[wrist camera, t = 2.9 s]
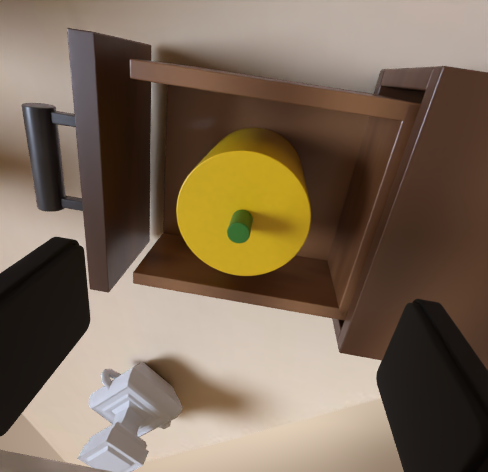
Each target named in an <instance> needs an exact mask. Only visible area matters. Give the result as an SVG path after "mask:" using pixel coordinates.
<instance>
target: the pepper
mask: <svg viewBox="0 0 488 472" xmlns="http://www.w3.org/2000/svg"><path fill="white" fill-rule="evenodd" d="M176 212H177V221H178V226H179V229H180V232H181V234H182V237H183V239H184V240H185V242H186V244H187V245H188V247H189V248H190V249H191V251H192V252H193V253H194V254H195V255H196V256H197V257H198V258H199V259H201V260H202V261H203V262H204V263H206V264H208V265H209V266H211V267H213V268H215V269H217V270H219V271H222V272H225V273H228V274H232V275H239V276H254V275H260V274H265V273H268V272H271V271H274V270H276V269H278V268H280V267H282V266H283V265H285V264H286V263H288V262H289V261H290V260H291V259H292V258H293V257H294V256H295V255H296V254H297V253H298V252H299V250H300V249H301V247H302V246H303V244H304V242H305V240H306V238H307V236H308V233H309V230H310V224H311V208H310V202H309V197H308V192H307V188H306V183H305V179H304V174H303V170H302V165H301V161H300V159H299V156H298V154H297V153H296V151H295V149H294V148H293V147H292V145H291V144H290V143H289V142H288V141H287V140H286V139H285V138H283V137H282V136H280V135H279V134H277V133H275V132H273V131H270V130H267V129H263V128H244V129H240V130H237V131H234V132H232V133H230V134H228V135H227V136H225V137H224V138H223V139H222V140H221V141H219V142H218V143H217V145H216V146H215V147H214V148H213V149H212V150H211V151H210V152H209V153H208V154H207V155H206V156H205V157H204V158H203V159H202V161H201V162H200V163H199V164H198V165H197V166H196V167H195V168H194V169H193V170H192V171H191V173H190V174H189V175H188V176H187V178H186V179H185V181H184V183H183V184H182V187H181V189H180V191H179V195H178V199H177V207H176Z"/></svg>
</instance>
